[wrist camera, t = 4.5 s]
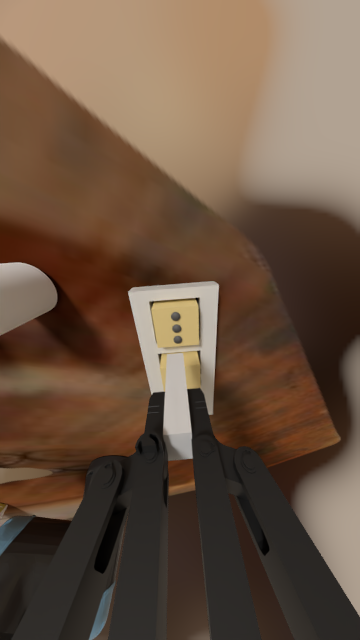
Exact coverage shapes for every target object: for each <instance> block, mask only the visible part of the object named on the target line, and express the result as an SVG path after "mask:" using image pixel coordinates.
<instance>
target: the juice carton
mask: <svg viewBox="0 0 360 640" xmlns="http://www.w3.org/2000/svg"><path fill="white" fill-rule="evenodd" d="M7 506H8V505H7V504H2V503H0V520H1V518H2V516H3V514H4V512H5V510H6V508H7Z"/></svg>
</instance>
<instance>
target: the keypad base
mask: <svg viewBox="0 0 360 640" xmlns="http://www.w3.org/2000/svg"><path fill="white" fill-rule="evenodd" d="M218 290H219V285H218V284H217V283H216V282H214V281H210V282H197V283H184V284H172V285H159V286H147V287H134V288H132V289H131V290H130V291H129V292H128V294H129V298H130V303H131V307H132V311H133V316H134V320H135V324H136V329H137V333H138V337H139V342H140V346H141V350H142V355H143V359H144V363H145V368H146V372H147V376H148V381H149V385H150V389H151V394H153V393H154V392H164V389H163V384H162V378H161V372H160V363H161V354H162V353H174V352H187V351H198V357H199V362H200V366H201V374H200V377H201V390H202V392H203V393H204V396H205V401H206V405H207V409H208V414H209V415H213V398H214V376H215V355H216V333H217V311H218ZM186 298H197V302H198V307H199V315H200V316H199V321H200V328H199V332H200V339H199V345H187V346H175V347H163V348H158V346H157V341H156V335H155V329H154V323H153V317H152V311H151V309H152V306H153V303H152V301H161V300H173V299H186Z"/></svg>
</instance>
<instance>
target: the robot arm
mask: <svg viewBox="0 0 360 640" xmlns="http://www.w3.org/2000/svg"><path fill="white" fill-rule="evenodd" d="M148 407H149V408H148V414H147V420H146V426H145V433H144V434H143V435H141V436H140V438H139V439H138V440H137V443H136V446H135V448H136V452H135V453H134V454H133V455H131V456H129V457H127V458H126V457H121V456H105V457H101V458H98V459H95V460H94V461H92V462H91V464H90V466H89V469H88V471H87V475H86V481H85V488H84V495H83V500H82V502H81V504H80V506H79V508H78V510H77V512H76V514H75V516H74V518H73V520H72V521H69V520H60V519H51V518H43V517H36V515H33V516H14V517H12V518H10V519H9V520H7V521H6V522H5V523H4V524H3V525H2V526H1V527H0V640H92V639H93V638H95V637H96V636H97V635H98V634H99V633H100V632H101V630H102V629H103V627H104V625H105V623H106V620H107V616H108V612H109V607H110V602H111V597H112V592H113V588H114V585H115V577H116V572H117V565H118V560H119V554H120V548H121V542H122V537H123V531H124V525H125V522H126V519H127V516H128V521H127V527H126V533H125V539H124V546H123V551H122V557H121V564H120V570H119V576H118V582H117V588H116V594H115V600H114V607H113V612H112V618H111V624H110V631H109V637H108V640H166V631H167V629H166V628H167V559H168V557H167V556H168V486H169V474H168V461H171V460H181V459H191V458H193V466H194V479H195V488H196V498H197V508H198V519H199V529H200V539H201V550H202V560H203V570H204V581H205V591H206V601H207V612H208V621H209V632H210V640H261V636H260V632H259V627H258V623H257V618H256V614H255V609H254V605H253V601H252V596H251V592H250V587H249V583H248V579H247V574H246V570H245V566H244V561H243V557H242V553H241V548H240V544H239V539H238V535H237V531H236V526H235V522H234V518H233V513H232V509H231V504H230V500H229V496H228V493H230V494H233V495H234V496H235V499H236V501H237V504H238V506H239V508H240V511H241V513H242V515H243V518H244V520H245V523H246V525H247V527H248V529H249V532H250V535H251V537H252V539H253V542H254V544H255V546H256V549H257V551H258V554H259V556H260V558H261V561H262V563H263V565H264V568H265V570H266V573H267V575H268V578H269V580H270V582H271V585H272V587H273V589H274V592H275V594H276V597H277V599H278V601H279V604H280V606H281V609H282V611H283V613H284V616H285V618H286V621H287V623H288V625H289V628H290V630H291V632H292V635H293V637H294V640H360V617H359V615H358V614H357V612H356V610H355V609H354V607H353V605H352V604H351V602H350V601H349V599H348V598H347V596H346V594H345V593H344V591H343V590H342V588H341V586H340V585H339V583H338V581H337V580H336V578H335V577H334V575H333V573H332V572H331V570H330V569H329V567H328V565H327V564H326V562H325V561H324V559H323V557H322V556H321V554H320V553H319V551H318V549H317V548H316V546H315V545H314V543H313V541H312V540H311V538H310V537H309V535H308V533H307V532H306V530H305V529H304V527H303V525H302V524H301V522H300V521H299V519H298V517H297V516H296V514H295V513H294V511H293V509H292V508H291V506H290V505H289V503H288V501H287V500H286V498H285V497H284V495H283V493H282V492H281V490H280V489H279V487H278V485H277V484H276V482H275V481H274V479H273V477H272V476H271V475H270V473H269V471H268V469H267V468H266V466H265V465H264V463H263V461H262V460H261V458H260V457H259V456H258V454H257V453H256V452H255V451H254V450H252V449H251V448H249V447H245V446H243V447H239V448H238V449H234V448H231V447H227V446H225V445H223V444H221V443H220V442H219V441H218V440H217V439H216V438H215V436H214V434H213V431H212V427H211V423H210V418H209V414H208V409H207V405H206V401H205V396H204V393H203V392H202V390H201V389H200V388H193V389H187V384H186V375H185V366H184V356H183V353H176V354H167V364H166V384H165V392H154V393H153V394H152V396H151V398H150V400H149V406H148ZM128 513H129V515H128Z"/></svg>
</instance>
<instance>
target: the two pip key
mask: <svg viewBox="0 0 360 640" xmlns="http://www.w3.org/2000/svg"><path fill="white" fill-rule="evenodd" d="M176 353H183V356H184V366H185V375H186V384H187V389H193V388H200V389H201V377H200V374H201V366H200V362H199V357H198V353H197V351H187V352H174V353H162V354H161V363H160V372H161V378H162V384H163V389H164V392H165V384H166V364H167V354H176Z"/></svg>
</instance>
